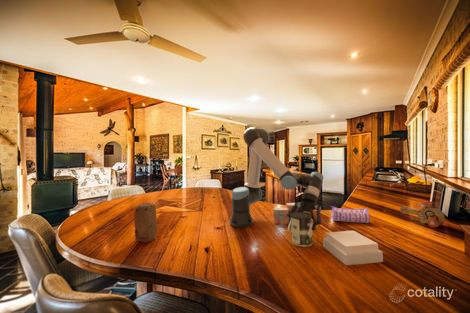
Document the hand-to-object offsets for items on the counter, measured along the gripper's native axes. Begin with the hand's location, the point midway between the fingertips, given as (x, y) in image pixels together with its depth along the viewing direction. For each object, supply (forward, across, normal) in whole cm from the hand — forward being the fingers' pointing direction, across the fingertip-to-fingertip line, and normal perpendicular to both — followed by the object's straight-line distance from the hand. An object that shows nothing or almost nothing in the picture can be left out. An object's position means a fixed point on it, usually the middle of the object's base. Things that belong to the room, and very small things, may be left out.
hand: (298, 233), depth 94 cm
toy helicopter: (-49, -44, -57) cm, 87 cm away
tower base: (-1, -21, -8) cm, 23 cm away
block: (+39, +66, +31) cm, 83 cm away
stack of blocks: (-14, +18, -22) cm, 32 cm away
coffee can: (+2, 0, -6) cm, 6 cm away
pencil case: (-32, -10, -40) cm, 52 cm away
